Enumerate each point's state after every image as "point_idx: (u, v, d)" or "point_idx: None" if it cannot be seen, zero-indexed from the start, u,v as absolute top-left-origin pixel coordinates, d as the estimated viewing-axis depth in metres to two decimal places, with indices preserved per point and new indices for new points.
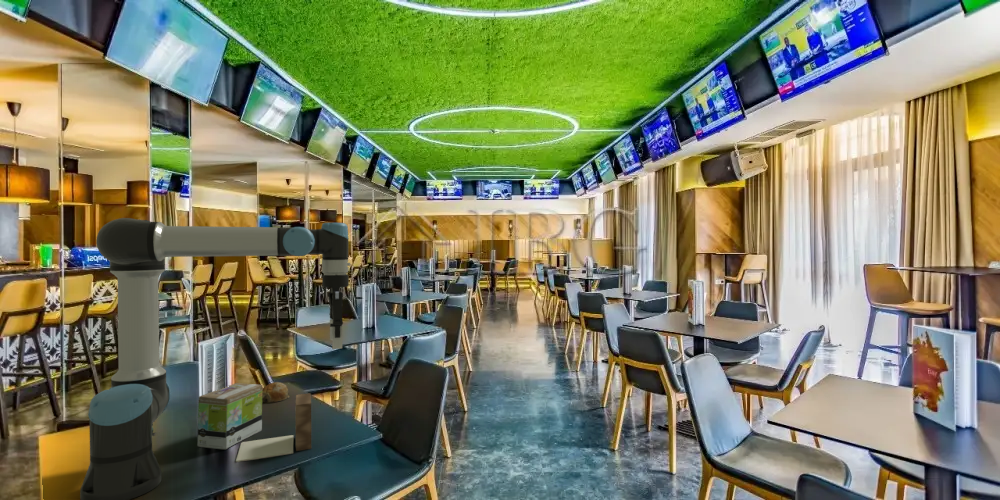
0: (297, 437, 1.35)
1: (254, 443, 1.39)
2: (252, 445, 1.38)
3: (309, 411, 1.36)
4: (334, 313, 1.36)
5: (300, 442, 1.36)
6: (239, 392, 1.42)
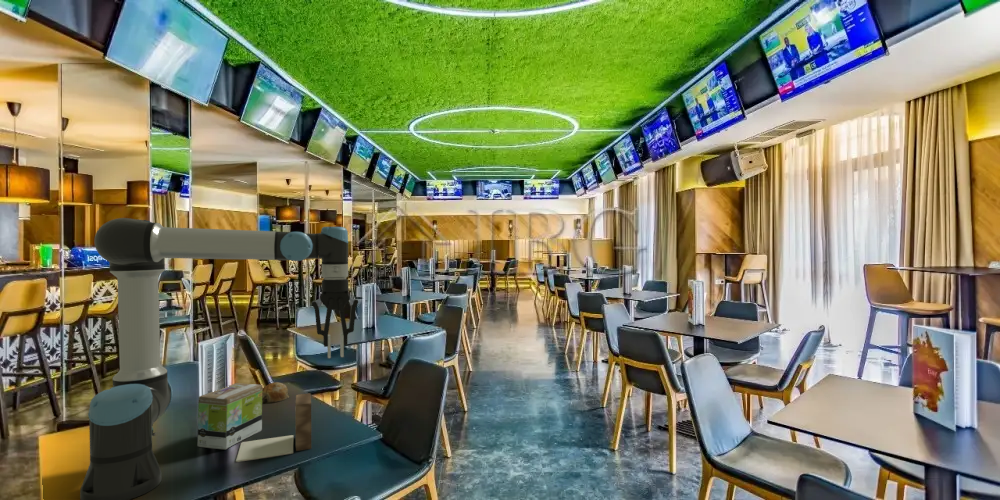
0: (297, 437, 1.35)
1: (254, 443, 1.39)
2: (252, 445, 1.38)
3: (309, 411, 1.36)
4: None
5: (300, 442, 1.36)
6: (239, 392, 1.42)
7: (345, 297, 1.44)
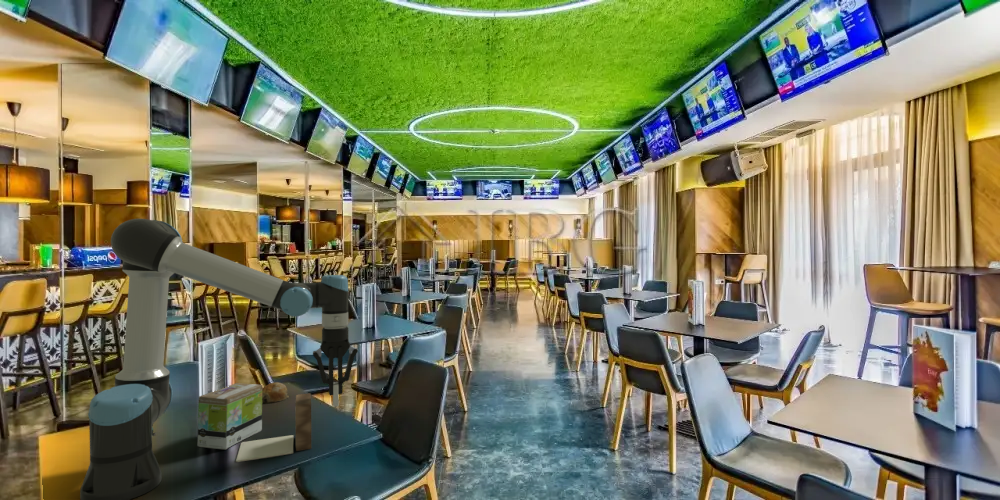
0: (297, 437, 1.35)
1: (254, 443, 1.39)
2: (252, 445, 1.38)
3: (309, 411, 1.37)
4: None
5: (300, 442, 1.36)
6: (239, 392, 1.42)
7: (345, 345, 1.44)
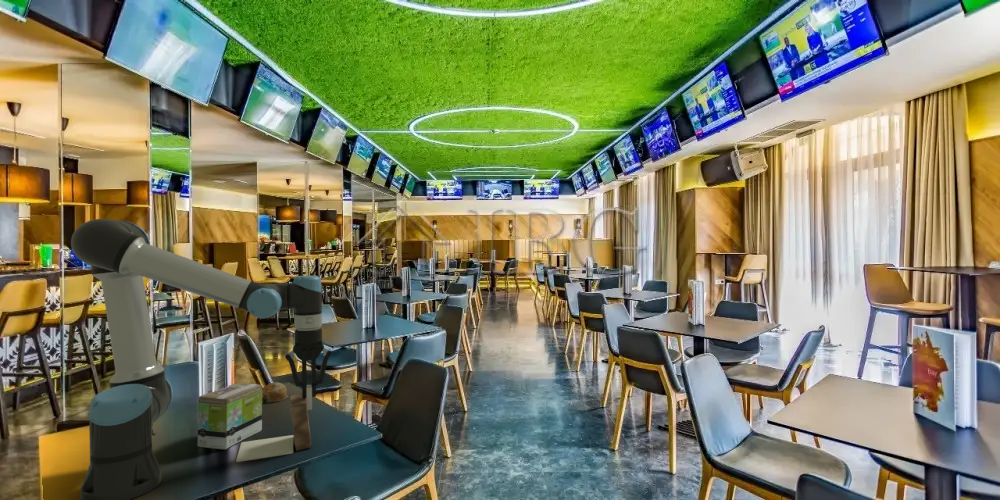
0: (295, 437, 1.35)
1: (254, 443, 1.39)
2: (252, 445, 1.38)
3: (305, 410, 1.36)
4: None
5: (299, 442, 1.36)
6: (239, 392, 1.42)
7: (319, 347, 1.41)
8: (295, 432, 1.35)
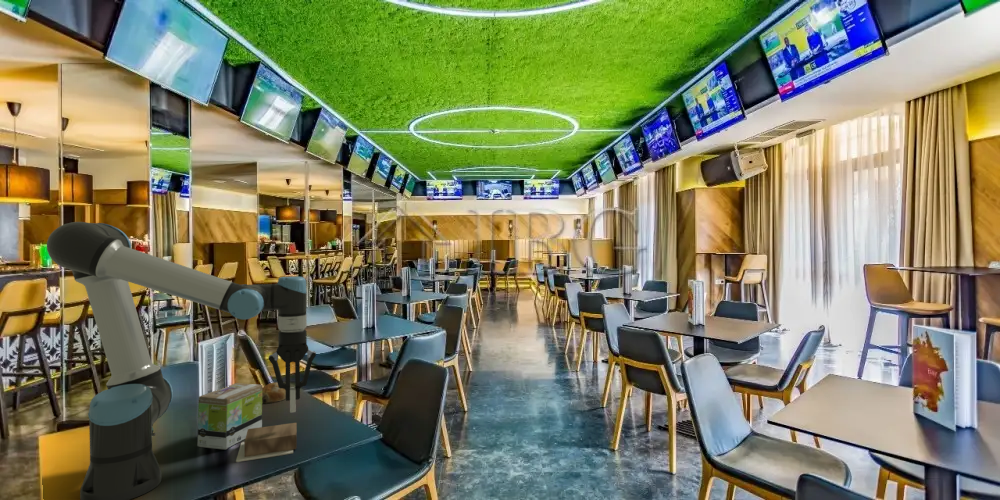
0: (281, 449, 1.34)
1: None
2: None
3: (254, 442, 1.31)
4: None
5: (287, 445, 1.34)
6: (239, 392, 1.42)
7: (303, 349, 1.39)
8: (276, 450, 1.33)
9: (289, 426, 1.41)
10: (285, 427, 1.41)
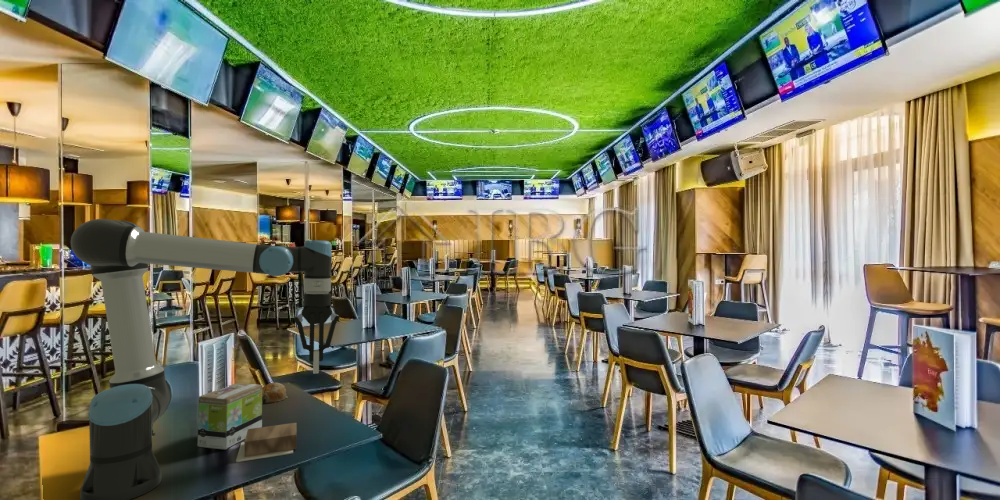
0: (281, 449, 1.34)
1: None
2: None
3: (254, 442, 1.31)
4: None
5: (287, 445, 1.34)
6: (239, 392, 1.42)
7: (327, 312, 1.42)
8: (276, 450, 1.33)
9: (289, 426, 1.41)
10: (285, 427, 1.41)
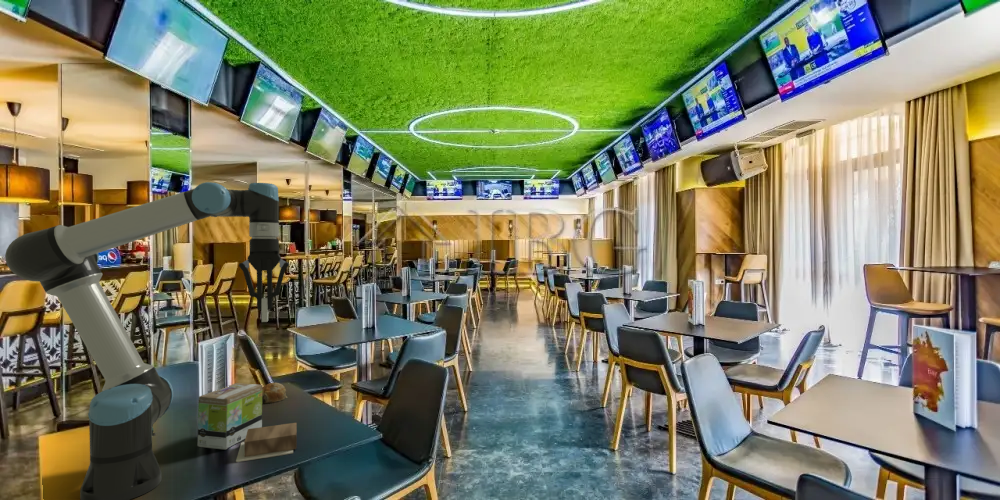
0: (281, 449, 1.34)
1: None
2: None
3: (254, 442, 1.31)
4: None
5: (287, 445, 1.34)
6: (239, 392, 1.42)
7: (275, 258, 1.36)
8: (276, 450, 1.33)
9: (289, 426, 1.41)
10: (285, 427, 1.41)
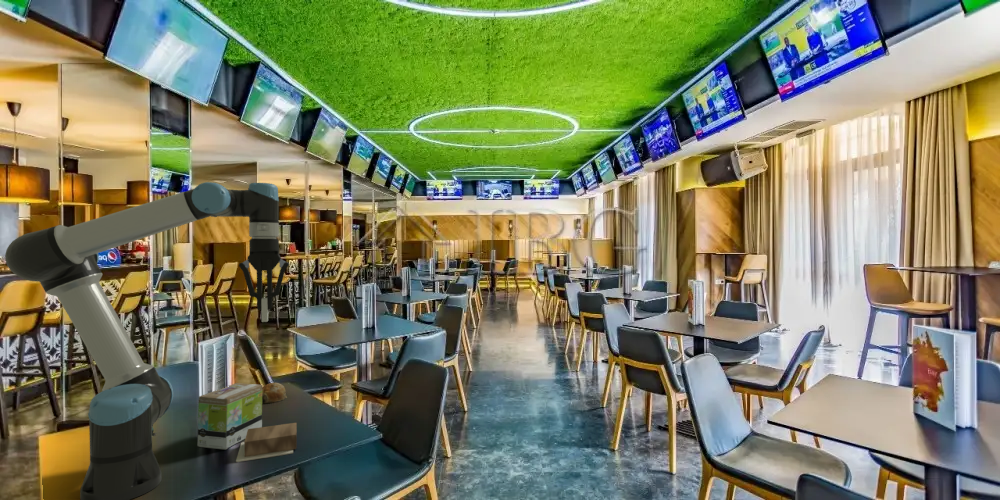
0: (281, 449, 1.34)
1: None
2: None
3: (254, 442, 1.31)
4: None
5: (287, 445, 1.34)
6: (239, 392, 1.42)
7: (275, 258, 1.36)
8: (276, 450, 1.33)
9: (289, 426, 1.41)
10: (285, 427, 1.41)
